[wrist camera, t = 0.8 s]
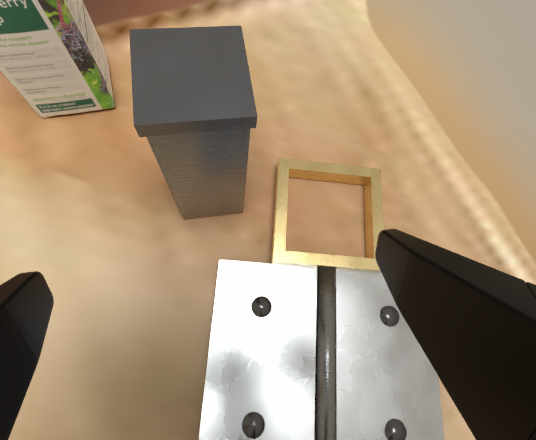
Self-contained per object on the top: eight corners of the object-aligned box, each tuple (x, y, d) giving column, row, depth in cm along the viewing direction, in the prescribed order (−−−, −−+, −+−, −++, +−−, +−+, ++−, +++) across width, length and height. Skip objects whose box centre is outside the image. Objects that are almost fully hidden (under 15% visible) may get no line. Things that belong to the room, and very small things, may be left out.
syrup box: (40, 120, 25) (-184, -122, 12) (36, 61, 27) (-164, -212, 13) (116, 109, 26) (-9, -125, 13) (108, 52, 28) (-10, -210, 14)
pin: (245, 214, 25) (257, 116, 13) (181, 222, 24) (133, 125, 12) (237, 158, 26) (241, 25, 15) (176, 164, 25) (129, 29, 14)
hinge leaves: (442, 485, 20) (458, 497, 19) (194, 477, 19) (191, 489, 18) (415, 181, 27) (425, 173, 26) (230, 162, 26) (230, 152, 25)
